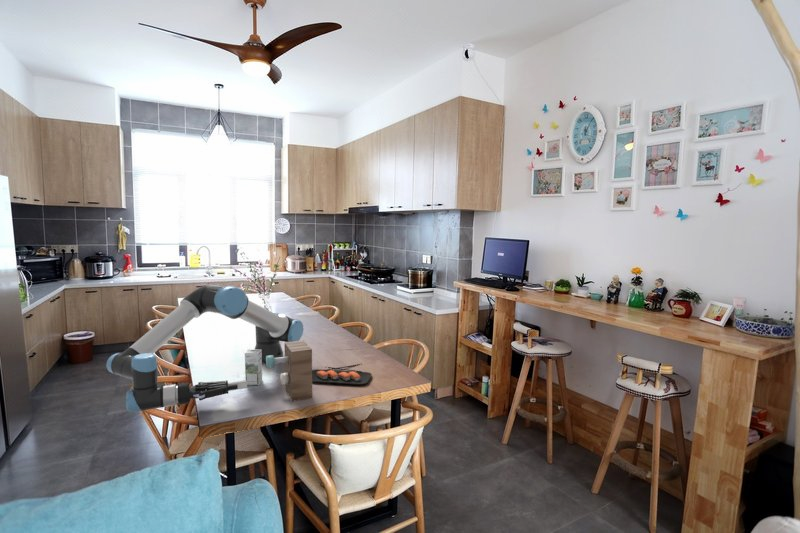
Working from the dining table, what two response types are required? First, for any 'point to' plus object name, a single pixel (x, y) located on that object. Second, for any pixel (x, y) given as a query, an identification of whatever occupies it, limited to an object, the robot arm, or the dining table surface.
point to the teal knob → (275, 360)
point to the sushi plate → (341, 376)
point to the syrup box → (253, 366)
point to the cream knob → (284, 378)
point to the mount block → (298, 370)
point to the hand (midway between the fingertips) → (246, 384)
